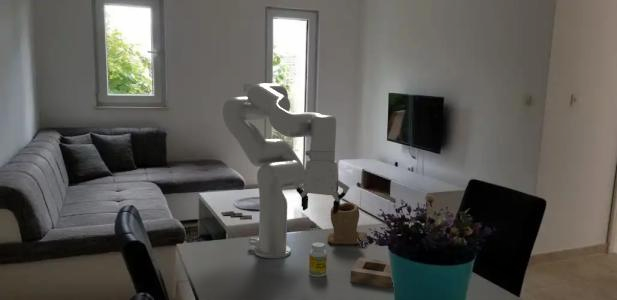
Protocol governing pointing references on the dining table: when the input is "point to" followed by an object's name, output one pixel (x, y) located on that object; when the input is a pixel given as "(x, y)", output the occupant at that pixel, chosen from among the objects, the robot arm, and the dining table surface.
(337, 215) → the brown hollow tube piece
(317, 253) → the supplement bottle
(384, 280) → the bottle holder
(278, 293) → the dining table surface
